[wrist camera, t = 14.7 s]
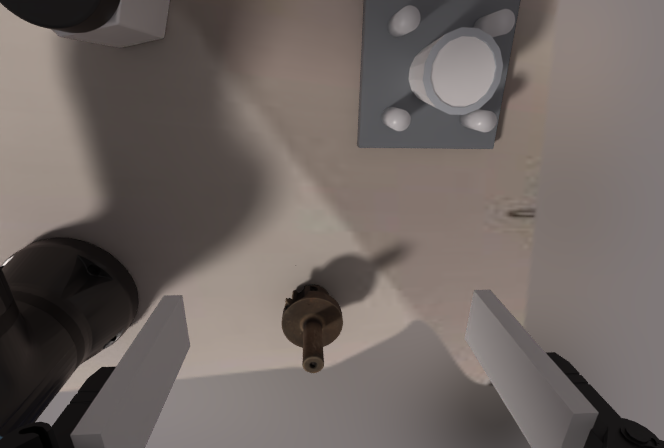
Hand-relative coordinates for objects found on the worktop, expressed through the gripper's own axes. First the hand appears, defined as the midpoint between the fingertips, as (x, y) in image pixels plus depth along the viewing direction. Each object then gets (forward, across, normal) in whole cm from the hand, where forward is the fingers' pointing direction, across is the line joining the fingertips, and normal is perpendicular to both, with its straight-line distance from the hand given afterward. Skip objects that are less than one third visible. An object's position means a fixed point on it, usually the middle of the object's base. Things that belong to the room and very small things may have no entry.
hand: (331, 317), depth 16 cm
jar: (+27, -18, +17) cm, 37 cm away
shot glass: (+25, +12, +11) cm, 30 cm away
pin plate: (+27, +12, +11) cm, 31 cm away
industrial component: (+27, -1, -16) cm, 31 cm away
